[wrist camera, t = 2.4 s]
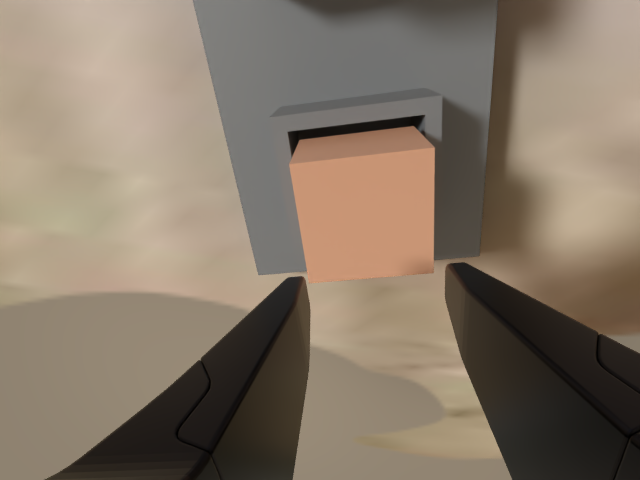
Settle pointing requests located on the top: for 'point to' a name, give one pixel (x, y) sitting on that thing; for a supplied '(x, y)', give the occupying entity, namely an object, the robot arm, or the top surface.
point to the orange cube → (365, 204)
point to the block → (351, 100)
